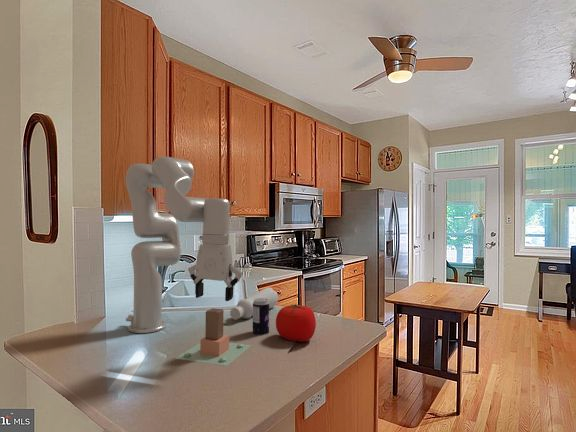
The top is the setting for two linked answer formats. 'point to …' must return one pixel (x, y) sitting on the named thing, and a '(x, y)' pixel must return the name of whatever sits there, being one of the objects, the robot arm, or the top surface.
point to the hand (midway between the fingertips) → (213, 298)
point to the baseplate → (223, 359)
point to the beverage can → (261, 316)
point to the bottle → (246, 305)
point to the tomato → (296, 323)
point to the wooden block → (214, 324)
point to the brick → (214, 346)
